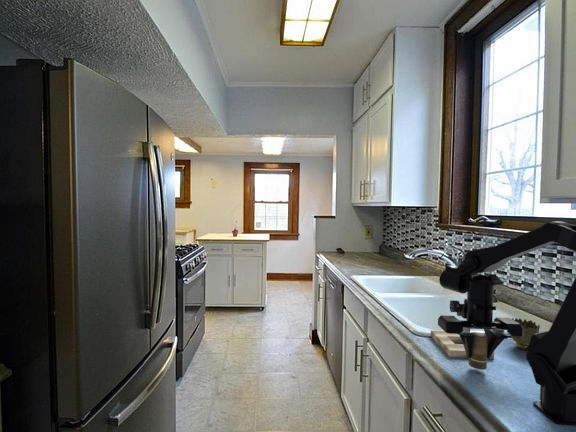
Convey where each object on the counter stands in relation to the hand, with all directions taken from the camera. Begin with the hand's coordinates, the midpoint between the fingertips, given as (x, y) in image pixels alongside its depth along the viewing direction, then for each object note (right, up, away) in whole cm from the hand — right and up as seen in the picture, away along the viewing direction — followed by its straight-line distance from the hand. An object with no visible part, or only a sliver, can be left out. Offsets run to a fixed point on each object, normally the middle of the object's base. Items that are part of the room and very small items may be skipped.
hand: (477, 357), depth 80 cm
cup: (+22, -3, +14) cm, 26 cm away
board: (+3, -3, +14) cm, 14 cm away
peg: (0, -2, 0) cm, 2 cm away
